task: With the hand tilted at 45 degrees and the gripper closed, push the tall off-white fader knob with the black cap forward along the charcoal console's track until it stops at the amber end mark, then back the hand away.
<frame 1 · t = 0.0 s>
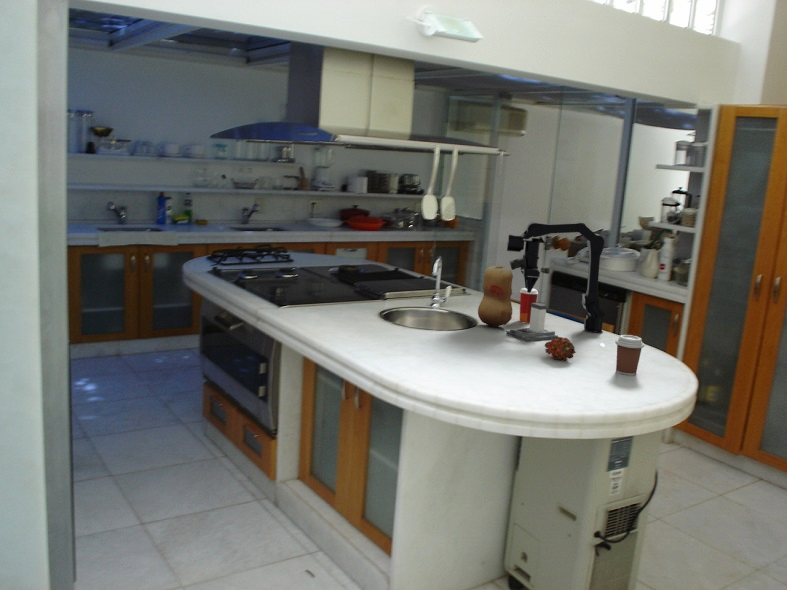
hand: (527, 290, 299), 15 cm above the countertop, tool pointing down, fingers open, 9 cm apart
butternut squash: (493, 327, 295), on the countertop
fader: (537, 318, 282), point 7 cm above the countertop, slide at 0.0 cm
console: (535, 336, 284), on the countertop
paper cup: (525, 322, 309), on the countertop
coffee cup: (625, 372, 241), on the countertop
dragon fruit: (558, 359, 253), on the countertop
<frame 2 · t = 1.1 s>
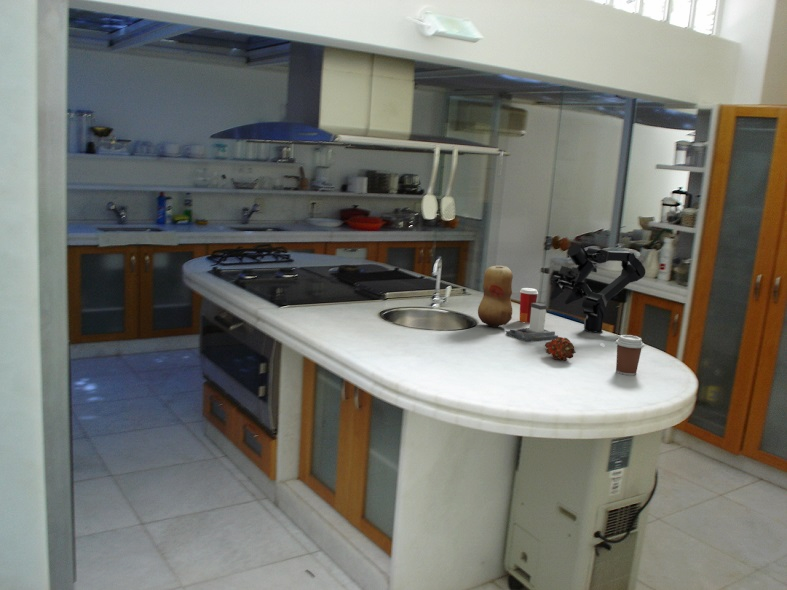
hand: (557, 301, 287), 13 cm above the countertop, tool tilted 45°, fingers open, 8 cm apart
nothing on the countertop moved.
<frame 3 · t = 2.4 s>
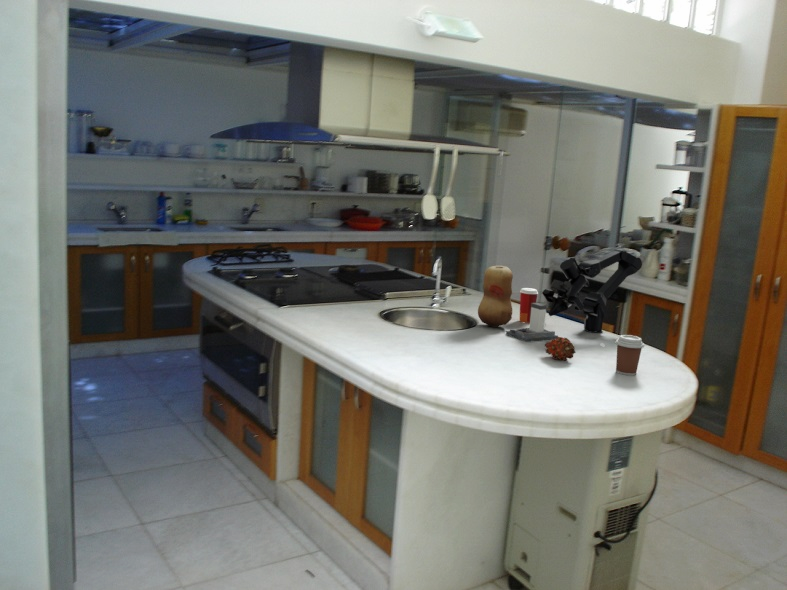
hand: (549, 315, 285), 8 cm above the countertop, tool tilted 45°, fingers closed
nothing on the countertop moved.
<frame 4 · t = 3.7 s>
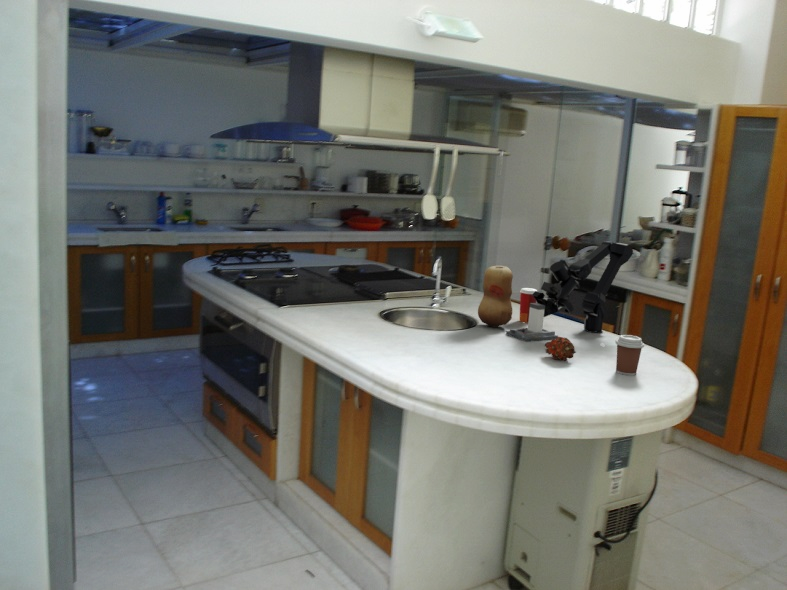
hand: (539, 317, 283), 7 cm above the countertop, tool tilted 45°, fingers closed, pressing on fader
fader: (536, 318, 282), point 7 cm above the countertop, slide at 0.8 cm, touching gripper
everything else where it was.
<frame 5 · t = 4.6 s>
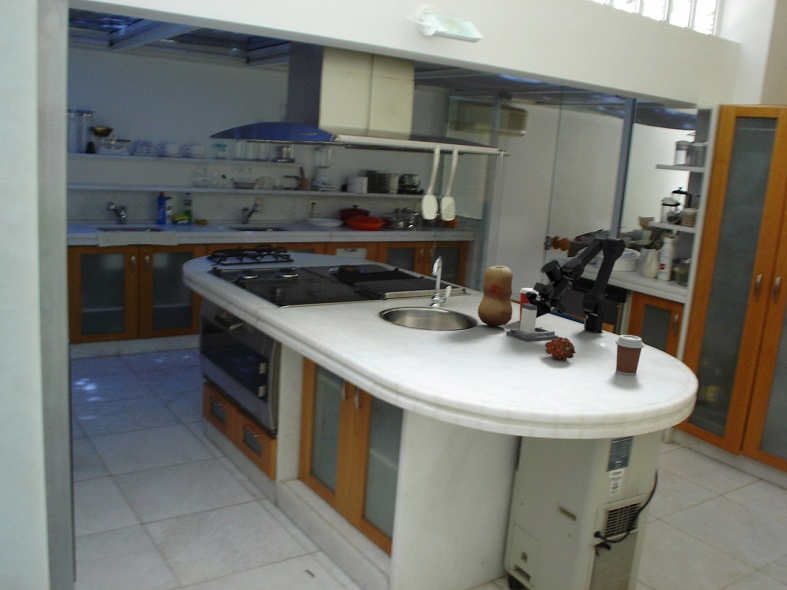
hand: (531, 318, 281), 7 cm above the countertop, tool tilted 45°, fingers closed, pressing on fader
fader: (528, 319, 280), point 7 cm above the countertop, slide at 4.7 cm, touching gripper
everything else where it was.
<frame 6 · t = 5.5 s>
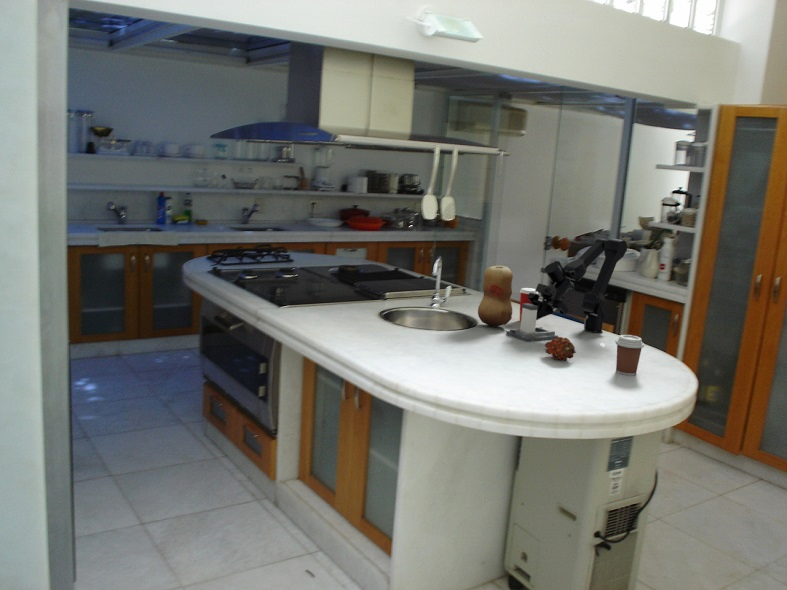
hand: (534, 319, 282), 7 cm above the countertop, tool tilted 45°, fingers closed
fader: (528, 319, 280), point 7 cm above the countertop, slide at 4.5 cm
everything else where it was.
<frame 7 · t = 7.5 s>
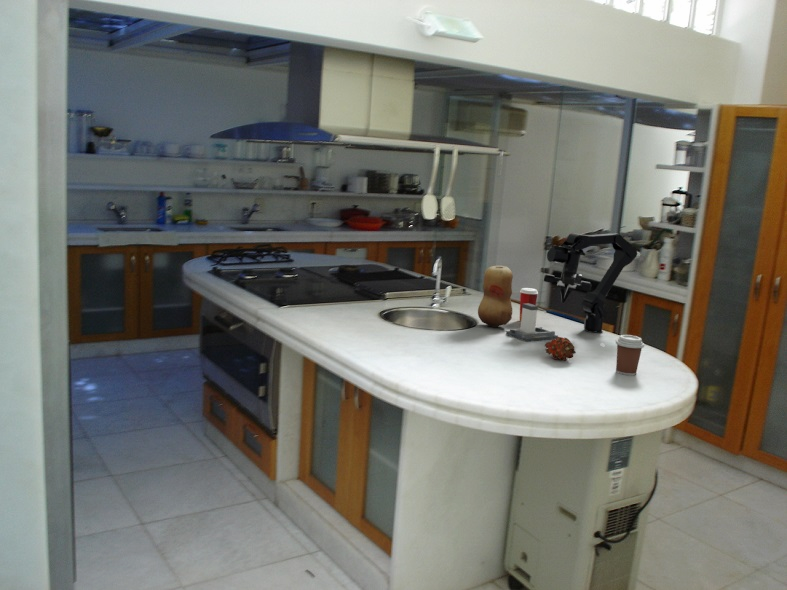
hand: (562, 302, 292), 12 cm above the countertop, tool pointing down, fingers closed
nothing on the countertop moved.
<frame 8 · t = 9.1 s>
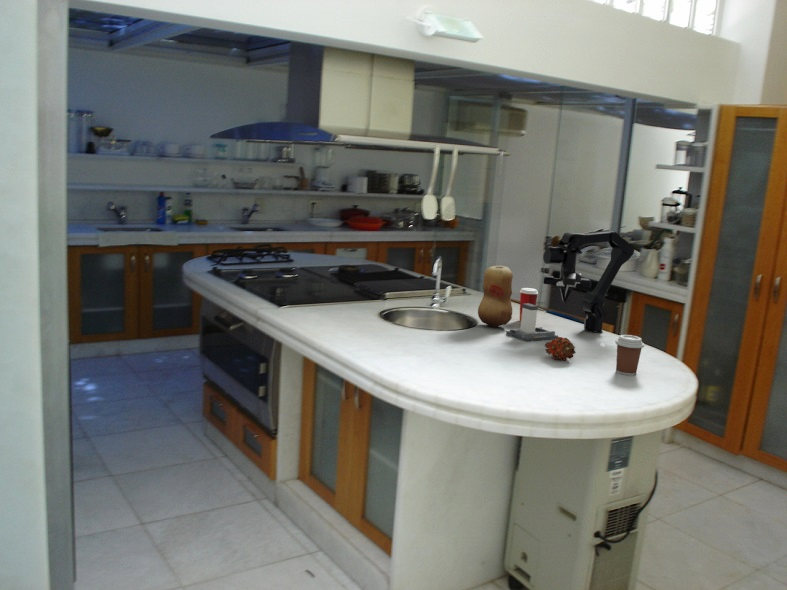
hand: (564, 302, 293), 12 cm above the countertop, tool pointing down, fingers closed
nothing on the countertop moved.
at the end: fader slide at 4.5 cm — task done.
